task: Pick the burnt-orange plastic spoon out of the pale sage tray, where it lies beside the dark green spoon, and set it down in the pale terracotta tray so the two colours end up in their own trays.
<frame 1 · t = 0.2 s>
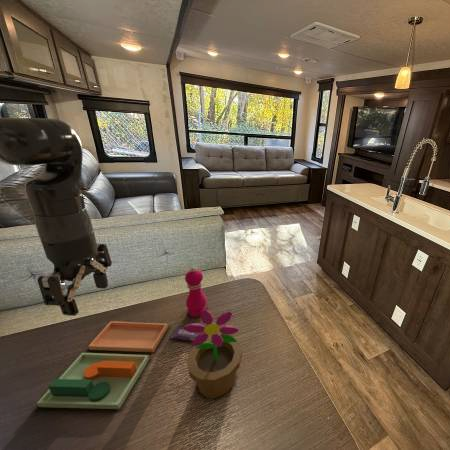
hand: (88, 299, 53), 32 cm above the table, tool pointing down, fingers open, 8 cm apart
orange spoon: (109, 373, 70), point 1 cm above the table, touching green tray
flowerpot: (216, 380, 72), on the table
pepper mill: (197, 311, 96), on the table
green tray: (100, 381, 68), on the table
snack package: (190, 336, 85), on the table
orange tray: (131, 338, 82), on the table
green spoon: (84, 392, 65), point 1 cm above the table, touching green tray
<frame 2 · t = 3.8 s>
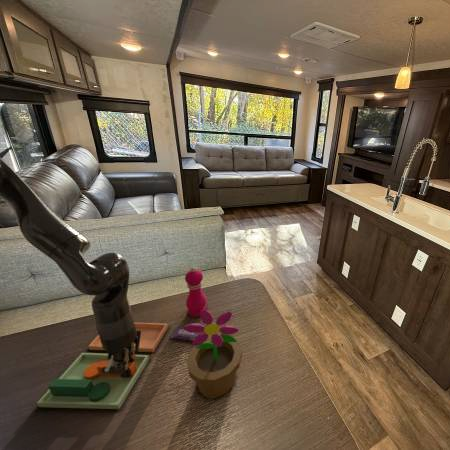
hand: (129, 372, 70), 1 cm above the table, tool pointing down, fingers closed on orange spoon
orange spoon: (109, 373, 70), point 1 cm above the table, touching green tray, gripper
everything else where it was.
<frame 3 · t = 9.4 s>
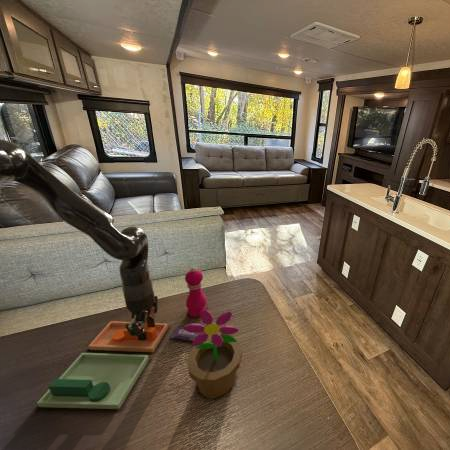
hand: (147, 333, 81), 3 cm above the table, tool pointing down, fingers open, 4 cm apart
orange spoon: (133, 337, 81), point 1 cm above the table, touching orange tray
everything else where it was.
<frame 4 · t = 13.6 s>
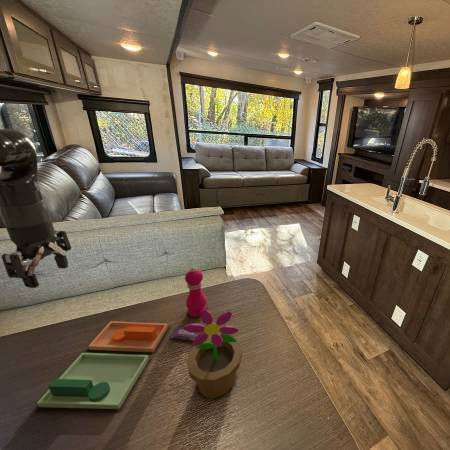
hand: (49, 276, 64), 28 cm above the table, tool pointing down, fingers open, 8 cm apart
nothing on the table moved.
at the end: orange spoon inside the target area in the orange tray (0.7 cm from its centre), point 0.6 cm above the orange tray's base; green spoon inside the target area in the green tray (3.8 cm from its centre), point 0.6 cm above the green tray's base; the gripper is holding nothing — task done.
